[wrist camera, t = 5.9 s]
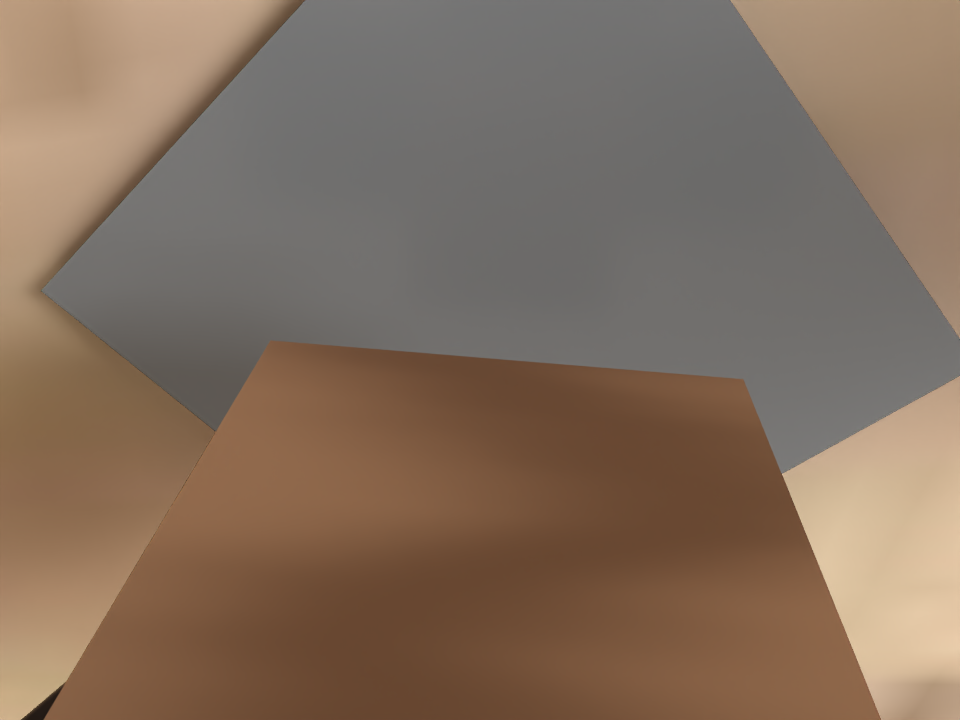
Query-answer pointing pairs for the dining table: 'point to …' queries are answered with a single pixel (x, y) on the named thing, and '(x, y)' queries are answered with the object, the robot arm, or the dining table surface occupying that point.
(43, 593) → the dining table surface
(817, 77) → the dining table surface
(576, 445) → the walnut cube
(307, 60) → the plate
